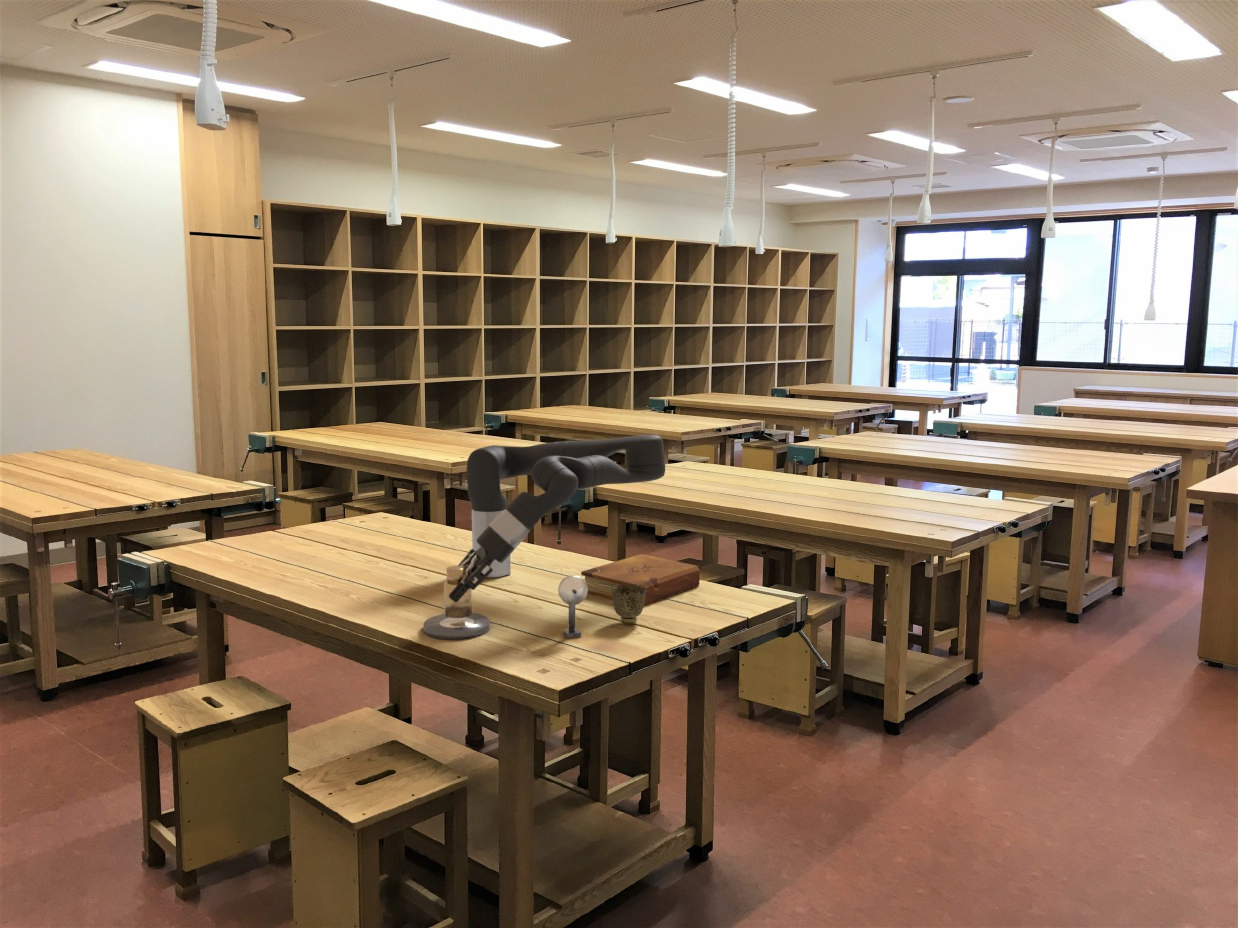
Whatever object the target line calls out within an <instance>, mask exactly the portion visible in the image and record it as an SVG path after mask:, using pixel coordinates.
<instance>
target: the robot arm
mask: <svg viewBox="0 0 1238 928" xmlns="http://www.w3.org/2000/svg"><path fill="white" fill-rule="evenodd" d="M664 448H665V446H664V440H663V438H662V436H660V435H659V434H639V435H631V436H623V437H621V436H620V437H614V438H605V439H604V438H603V439H592V440H568V441H567V440H563V441H554V442H545V443H540V444H535V445H529V446H528V445H527V446H509V445H508V446H507V445H497V444H496V445H494V444H492V445H488V446H484V447H480V448H479V447H478V448H477V449H475V450H473V451H472V452H471V453H470V454H469V456H468V457H467V461H466V484H467V496H468V499H469V501H470V505H471V532H472V533H471V540H472V541H471V542H472V548H471V549H469V551H468V552H467V553H466V555H465V557H463V559H462V560H461V561H459V563H458V565H457V566H466V567H468V568H467V569H466V571H465V576H464V578H463V579H462V580H461V582H460V583H459V584H458V585H457V586H456V587H455V588H454V590H453V591H452V592H451V593H450V594H449V598H450V599H451V600H453V601H454V602H458V601H459V599H460V598H461V597H462V596H463V595H464V594H465V593H466V592H467V591H468V590H470V589H472V591H474V590H476V589H477V587H478V586H479V585H480V584H481V583H482V582H483V581H484V580H485V579H486V578H489V579H491V578H500V577H504V576H507V575H511V568H512V567H511V554H512V553H513V552H514V551H515V549H516V548H518V546H520V544H521V543H522V542H523V541H524V539H525V538H526V536H527V535H528V534H529V533H530V531H531V530H532V529H533V528H534V527H535V526H536V525H537V523H538V522H539V521H540V520H541V519H542V518H543V517H545V516H546V515H547V514H549V513H550V512H552V511H554V510H555V509H556V508H557V507H559V506H561V505H562V504H564V503H566V502H567V501H568V500H570V499H571V498H572V497H573V495H574V494H575V493H576V492H577V490H585V489H590V488H593V487H594V488H595V487H598V486H603V485H618V484H620V485H621V484H623V485H624V484H633V483H634V484H635V483H645V482H653V481H656V480H659V479H661V478H663V477H664V476H665V474H666V460H665V458H666V457H665V449H664ZM620 451H625V456H626V468H627V469H626V468H625V467H622V466H620V465H619V464H618V463H616V462H615V461H614V460H612V459H610V458H608V457H610V456H612V455H614V454H616V453H618V452H620ZM519 476H531V479H532V481H533V482H534V484H535V485H536V486H537V487H538V488H540V489H541V490H542V491H543V493H542V494H540V495H533V494H532V493H529V492H526V491H522V492H520V493H519V494H518V495H517V496H515V498H514V499H513V500H512V501H511V502H510V503H509V502H508V498H507V496H506V495H503V494H502V492H501V481H500V480H504V479H507V478H512V477H514V478H515V477H519ZM508 503H509V505H508Z"/></svg>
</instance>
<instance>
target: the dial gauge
mask: <svg viewBox="0 0 1238 928" xmlns="http://www.w3.org/2000/svg"><path fill="white" fill-rule="evenodd" d="M557 592H558V593H557V594H558V597H559V598H560V599H561V601H562V602H563V603H565V604H567V605H568V628H564V629H563V631H562V632H563V633H562V634H563V635H564V637H565V638H566V639H567V638H568V639H574V638H573V637H577V638H582V632H581V630H580V629H578V628H577V627H576V606H578V605H579V604H581V603H583V602H584V601H585V599H586V598H587V596H588V594H587V593H588V587H587V584H586V582H585V579H583V578H582V577H581V576H579V575H575V574H572V575H567V576H566V577H564V578H563V579H562V580H561V581H560V583H559V585H558V588H557Z"/></svg>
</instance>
